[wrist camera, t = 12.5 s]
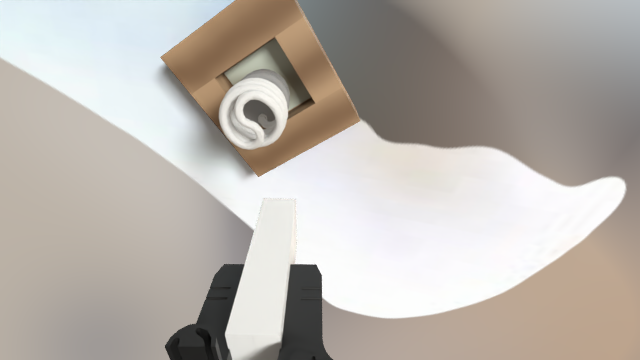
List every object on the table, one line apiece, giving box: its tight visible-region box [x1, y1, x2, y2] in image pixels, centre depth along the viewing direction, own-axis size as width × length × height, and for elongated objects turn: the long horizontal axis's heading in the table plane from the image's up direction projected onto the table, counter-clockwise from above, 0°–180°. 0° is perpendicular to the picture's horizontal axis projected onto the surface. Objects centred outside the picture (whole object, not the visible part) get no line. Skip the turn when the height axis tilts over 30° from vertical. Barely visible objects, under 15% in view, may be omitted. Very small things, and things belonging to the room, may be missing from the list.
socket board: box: [160, 0, 360, 177], centre depth 33 cm, size 16×14×4 cm
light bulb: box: [219, 69, 290, 150], centre depth 28 cm, size 6×6×12 cm
